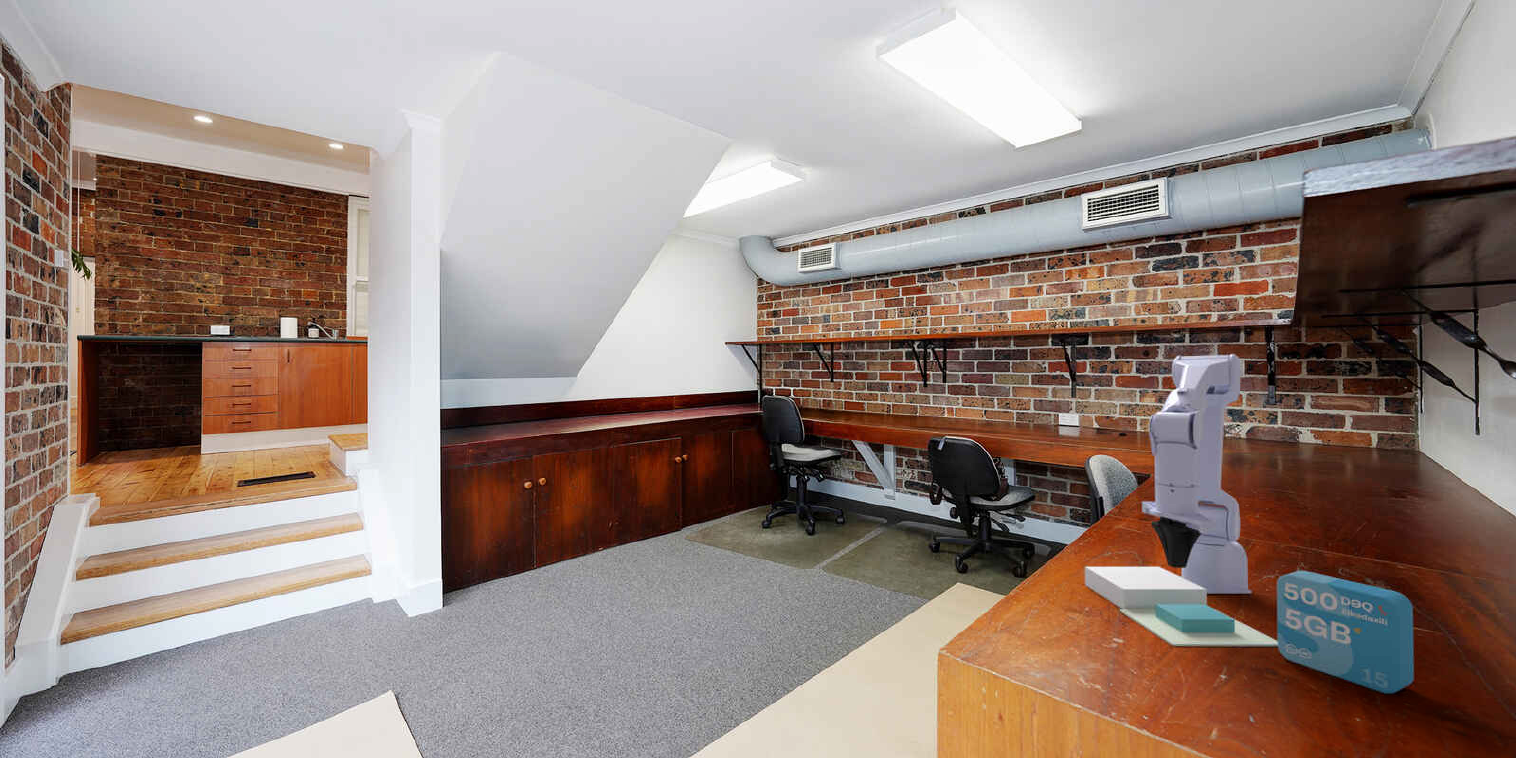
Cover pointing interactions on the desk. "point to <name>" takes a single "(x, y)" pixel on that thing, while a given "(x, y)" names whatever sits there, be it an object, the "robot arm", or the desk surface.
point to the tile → (1195, 618)
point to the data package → (1346, 630)
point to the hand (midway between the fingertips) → (1177, 566)
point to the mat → (1176, 638)
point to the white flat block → (1143, 587)
